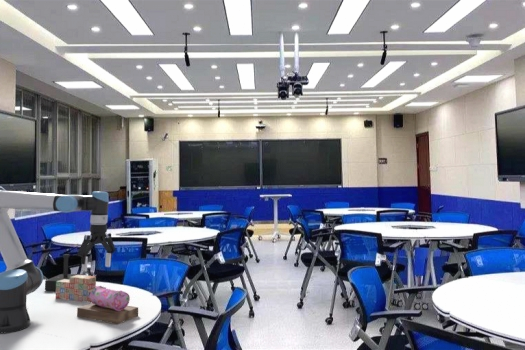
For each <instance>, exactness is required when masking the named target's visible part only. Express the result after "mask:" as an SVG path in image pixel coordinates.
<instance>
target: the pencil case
mask: <svg viewBox="0 0 525 350" xmlns="http://www.w3.org/2000/svg"><path fill="white" fill-rule="evenodd" d="M88 296H89V300H90V301H89V302H90V304H91V303H93V304H96V305H99V306H101V307H105V308H111V309H115V310H116V311H121V310H123V309H124V308H126V307H127V306H129V304H130V300H131V299H130V298H131V297H130V294H129V293H128V292H126V291H123V290H114V289H111V288H107V287H104V286H102V285H96V288H95V289H93V290H92V291H91V293H90V292H89V294H88Z"/></svg>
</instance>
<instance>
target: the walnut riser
mask: <svg viewBox="0 0 525 350" xmlns="http://www.w3.org/2000/svg"><path fill="white" fill-rule="evenodd" d="M76 309H77V310H76V312H77V313H76V317H79V318H84V319H89V320H95V321H99V322H103V323H109V324H113V325H119V324H122V323H123V322H124V323H125V322H127V321H129V320H132V319H135V318H136V317H139V307H137V306H132V305H127V307H126V308H124V309H123V310H121V311H116V310H115V309H111V308H105V307H101V306H99V305H96V304H93V303H91V302H90V303H88V304H85V305H82V306H79V307H76Z"/></svg>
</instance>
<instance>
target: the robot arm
mask: <svg viewBox="0 0 525 350" xmlns="http://www.w3.org/2000/svg"><path fill="white" fill-rule="evenodd" d="M109 203H110V201H109V193H108V192H107V191H92V193H91V195H83V194H58V193H43V192H29V191H28V192H27V191H15V190H6V189H5V188H4V187H3V186H0V255H1V257H2V258H3V262H4V264H5V266H6V269H5V270H4V271H2V272H0V334H8V333H14V332H18V331H22V330H24V329H27V328H28V327H30V325H31V318H30V315H29V312H28V309H27V296H28V295H30V294H32V293H34V292H36V291H37V290H38V289H39V288H40V287H41V285H42V284H43V281H44V274H43V271H42V270H41V269H40V268H39V267H37V266H35V264H34V261H33V260H31V259H29V258H28V257H27V255H26V252H25V250H24V248H23V245H22V243H21V241H20V239H19V236H18V234H17V232H16V229H15V226H14V225H13V222H12V219H11V217H10V215H9V213H8V211H9V210H11V209H13V210H28V211H31V210H32V211H44V212H47V211H48V212H61V213H64V214H65V213H66V214H67V213H68V214H69V213H73V212H90V219H89V223H90V225H89V232H90V233H89V234H84V237H83V241H82V243H81V245H80V247H79V249H78V251H77V254H76V255H77V256H78V257H80V264H81V269H80V270H81V272H88V259H89V256H87V255H88V254H89V252H90V251H91V250H92V248H93V247H94V246H95V245H99V244H101V245H102V246H103V248H104V249H105V251H106V252H105V262H104V263H105V264H104V267H106V268H110V267H111V264H112V263H111V261H112V257H113V254H114V253H115V252H116V247H115V244H114V242H113V238H112V233H111V232H107V231H108V224H107V223H108V217H109V215H108V213H109Z"/></svg>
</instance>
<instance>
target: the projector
mask: <svg viewBox="0 0 525 350" xmlns="http://www.w3.org/2000/svg"><path fill="white" fill-rule="evenodd" d="M62 258H63V273H61V274H58V275H56V276H53V277H51V278H48V279H46V280H45V281H44V286H45V287H44V291H46V292H56V281H60V280H63V279H68V280H70V277H72V276H75V275H85V274H83V273H77V274H76V273H75V274H74V273H69V258H70V254H68V253H65V254H63V255H62Z"/></svg>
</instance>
